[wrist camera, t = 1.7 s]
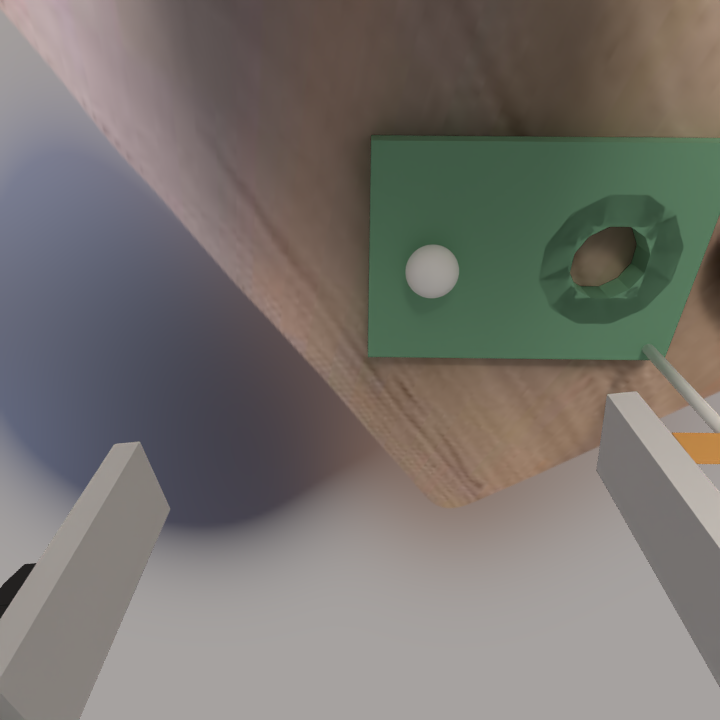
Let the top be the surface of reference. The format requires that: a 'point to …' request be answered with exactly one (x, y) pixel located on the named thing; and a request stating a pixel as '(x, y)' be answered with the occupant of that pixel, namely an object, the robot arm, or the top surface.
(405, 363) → the top surface
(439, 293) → the ball
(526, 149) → the green
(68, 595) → the robot arm
